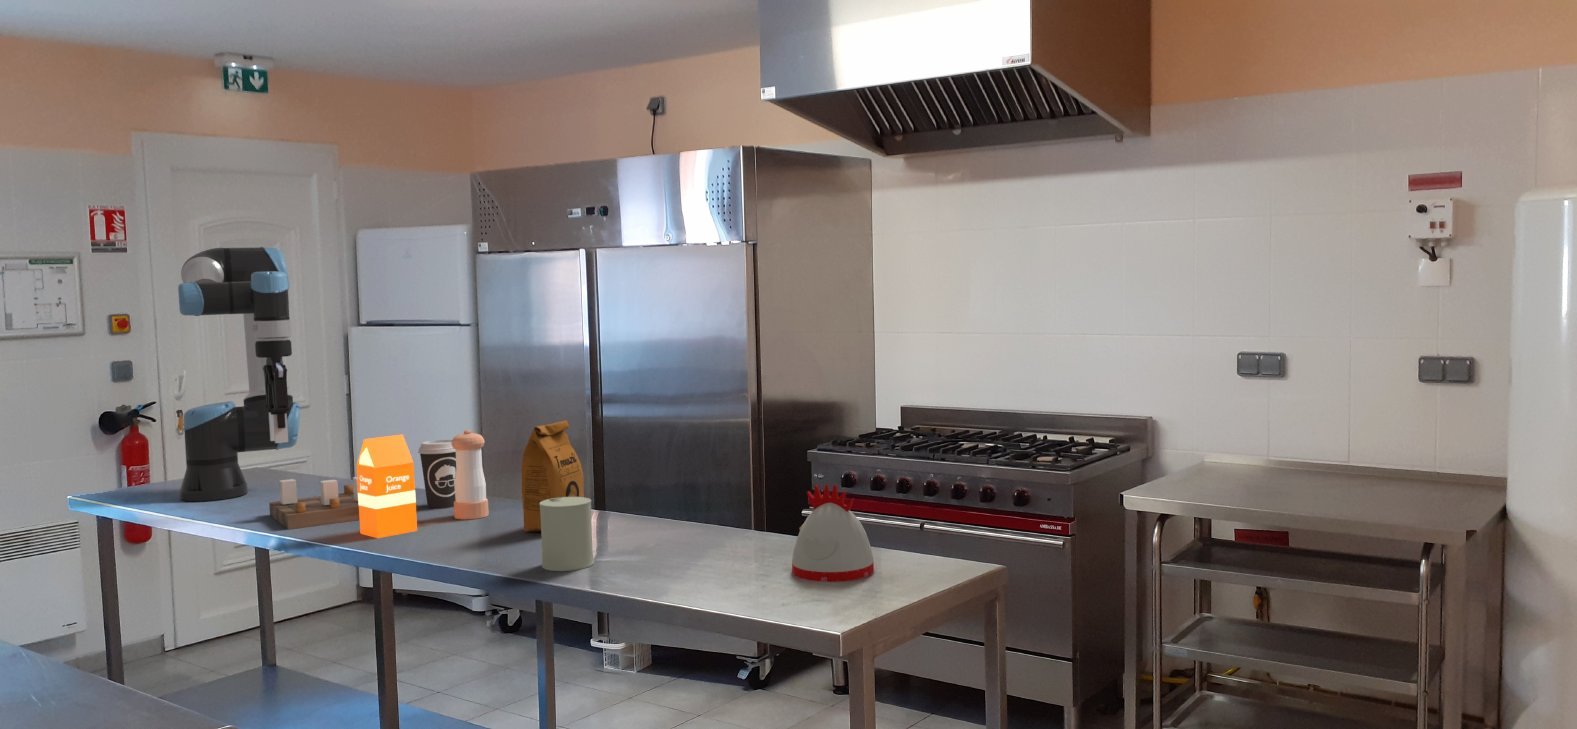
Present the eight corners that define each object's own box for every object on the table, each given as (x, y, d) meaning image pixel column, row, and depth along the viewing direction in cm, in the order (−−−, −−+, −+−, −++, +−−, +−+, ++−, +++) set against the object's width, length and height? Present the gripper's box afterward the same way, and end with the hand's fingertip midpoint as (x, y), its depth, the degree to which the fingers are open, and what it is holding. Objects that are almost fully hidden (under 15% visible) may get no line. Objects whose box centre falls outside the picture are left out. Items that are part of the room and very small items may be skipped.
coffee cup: (470, 501, 266) (466, 438, 265) (454, 509, 257) (450, 444, 256) (431, 502, 267) (427, 439, 266) (413, 510, 258) (410, 445, 257)
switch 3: (353, 499, 255) (352, 477, 255) (367, 497, 257) (366, 475, 256) (357, 501, 252) (356, 478, 252) (371, 499, 254) (369, 477, 254)
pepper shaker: (447, 518, 247) (443, 431, 245) (468, 512, 253) (464, 427, 252) (474, 520, 244) (470, 432, 243) (495, 513, 251) (491, 428, 249)
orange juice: (359, 533, 234) (354, 438, 233) (399, 525, 240) (394, 433, 239) (378, 538, 229) (372, 440, 227) (418, 530, 235) (412, 435, 234)
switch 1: (280, 502, 253) (278, 480, 253) (294, 500, 255) (293, 478, 255) (282, 504, 251) (281, 482, 251) (297, 502, 253) (295, 480, 252)
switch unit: (270, 515, 256) (268, 493, 256) (360, 503, 268) (359, 482, 268) (288, 529, 240) (287, 506, 240) (384, 516, 252) (383, 494, 251)
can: (571, 556, 208) (568, 492, 207) (604, 562, 202) (602, 496, 202) (531, 566, 201) (528, 500, 200) (564, 574, 195) (561, 505, 194)
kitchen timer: (810, 559, 201) (808, 475, 200) (884, 564, 196) (882, 478, 195) (780, 578, 188) (777, 489, 187) (857, 584, 183) (855, 493, 182)
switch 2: (321, 503, 251) (320, 481, 251) (335, 501, 253) (334, 479, 252) (324, 505, 248) (323, 482, 248) (338, 503, 250) (337, 481, 250)
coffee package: (593, 524, 237) (589, 420, 235) (555, 536, 226) (550, 427, 224) (556, 520, 241) (551, 418, 240) (516, 532, 230) (511, 425, 229)
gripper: (247, 339, 261) (254, 439, 263) (262, 341, 246) (269, 446, 248) (282, 337, 265) (288, 436, 267) (299, 339, 251) (305, 443, 252)
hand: (279, 441), depth 257 cm, fingers open, 4 cm apart
